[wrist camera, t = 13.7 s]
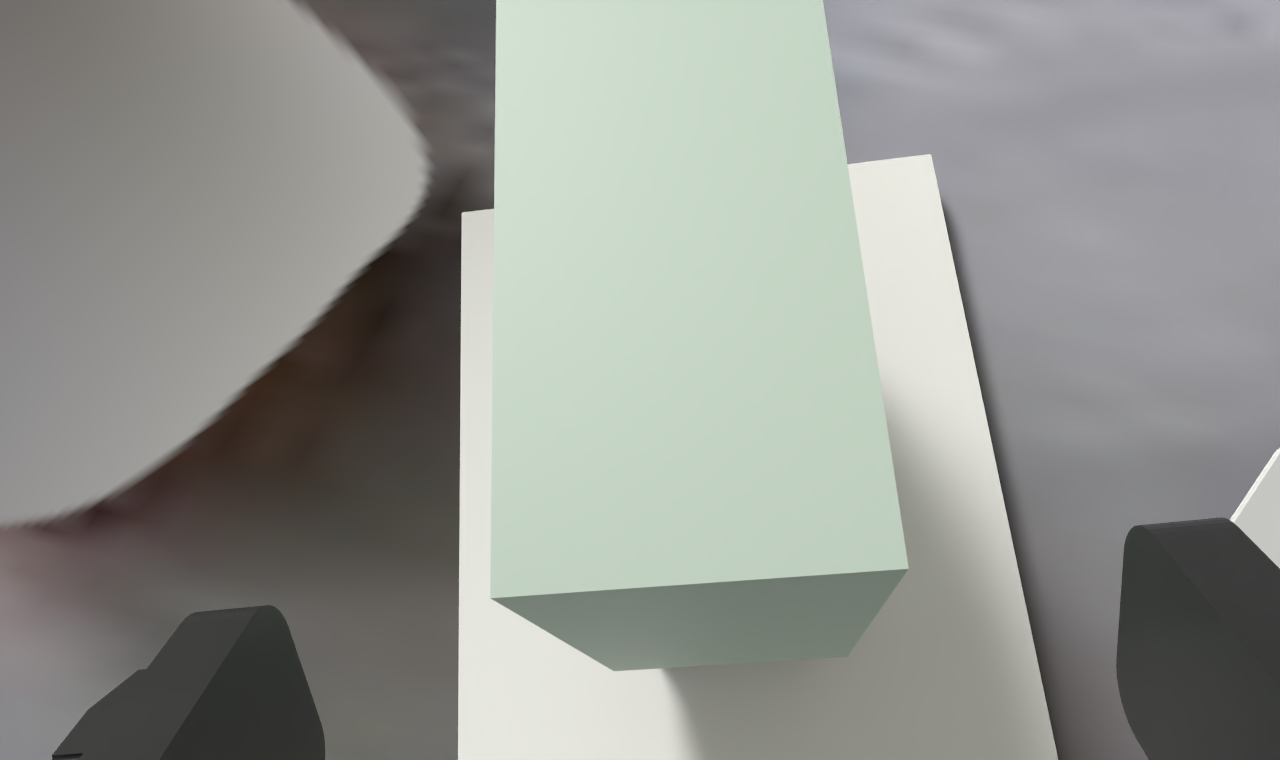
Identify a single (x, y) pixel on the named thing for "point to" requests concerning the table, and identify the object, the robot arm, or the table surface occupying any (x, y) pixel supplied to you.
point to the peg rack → (812, 688)
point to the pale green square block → (682, 338)
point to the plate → (1263, 510)
